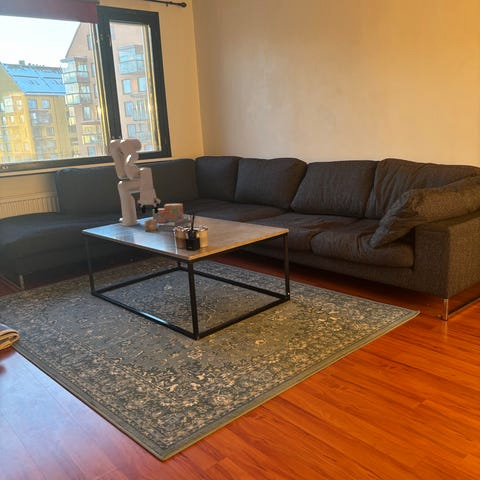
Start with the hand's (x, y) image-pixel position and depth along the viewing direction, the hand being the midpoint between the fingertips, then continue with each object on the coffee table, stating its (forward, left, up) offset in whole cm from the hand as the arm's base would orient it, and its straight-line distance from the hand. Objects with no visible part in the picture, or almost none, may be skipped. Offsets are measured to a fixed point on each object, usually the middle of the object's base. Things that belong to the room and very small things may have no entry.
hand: (150, 213), depth 321 cm
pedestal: (-1, 0, -12) cm, 12 cm away
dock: (+10, +10, -12) cm, 19 cm away
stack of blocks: (-7, +32, -12) cm, 35 cm away
